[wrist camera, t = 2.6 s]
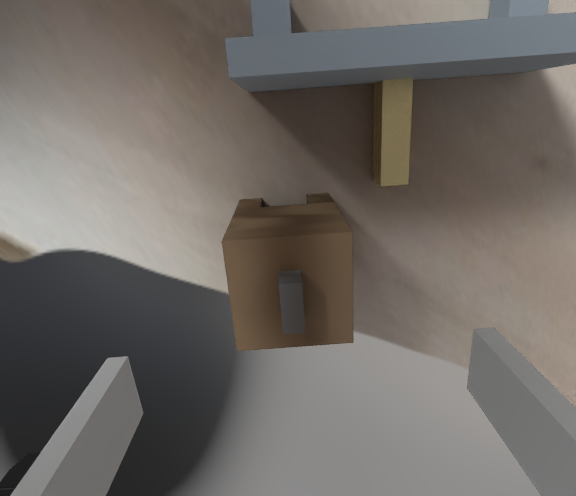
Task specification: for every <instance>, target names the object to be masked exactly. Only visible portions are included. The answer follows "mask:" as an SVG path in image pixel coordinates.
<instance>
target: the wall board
mask: <svg viewBox="0 0 576 496" xmlns="http://www.w3.org/2000/svg"><path fill="white" fill-rule="evenodd" d="M548 2H549V0H490V7H489V17H488V19H480V20H466V21H452V22H439V23H425V24H411V25H398V26H384V27H371V28H357V29H343V30H330V31H316V32H303V33H291V16H290V0H250V5H251V17H252V28H253V36H248V37H235V38H225V46H226V55H227V64H228V73H229V78H230V79H231V80H233V81H234V82H236V83H237V84H238V85H240V86H241V87H242V88H244V89H245V90H246V91H248V92H260V91H273V90H287V89H301V88H314V87H328V86H342V85H355V84H369V83H376V82H379V81H382V80H392V79H405V78H413V80H423V79H437V78H450V77H464V76H478V75H491V74H505V73H519V72H529V71H535V70H541V69H547V68H552V67H558V66H564V65H570V64H576V12H575V13H561V14H548V15H547V8H548Z"/></svg>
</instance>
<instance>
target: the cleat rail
mask: <svg viewBox="0 0 576 496" xmlns="http://www.w3.org/2000/svg"><path fill="white" fill-rule="evenodd" d="M412 95H413V78H405V79H392V80H382V81H379V82H376V83H374V105H373V181H374V182H375V183H377V184H378V185H379V186H393V185H407V184H408V180H409V159H410V137H411V116H412Z"/></svg>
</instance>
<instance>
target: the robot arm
mask: <svg viewBox="0 0 576 496" xmlns="http://www.w3.org/2000/svg"><path fill="white" fill-rule="evenodd" d="M467 388H468V390H469V392H470V393H471V394H472V396H473V397H474V399H475V400H476V402H477V403H478V405H479V406H480V407H481V409H482V410H483V412H484V413H485V415H486V416H487V418H488V419H489V421H490V422H491V423H492V425H493V426H494V428H495V429H496V431H497V432H498V434H499V435H500V437H501V438H502V439H503V441H504V442H505V444H506V445H507V447H508V448H509V450H510V451H511V452H512V454H513V455H514V457H515V458H516V460H517V461H518V462H519V464H520V466H521V467H522V468H523V470H524V471H525V473H526V474H527V476H528V477H529V479H530V480H531V481H532V483H533V484H534V486H535V487H536V489H537V490H538V491H539V493H540V494H541V496H576V408H575V407H574V406H573V405H572V404H571V403H570V402H569V401H568V400H567V399H566V398H565V397H564V396H563V395H562V394H561V393H560V392H559V391H558V390H557V389H556V388H555V387H554V386H553V385H552V384H551V383H550V382H549V381H548V380H547V379H546V378H545V377H544V376H543V375H542V374H541V373H540V372H539V371H538V370H537V369H536V368H535V367H533V366H532V365H531V364H530V363H529V362H528V361H527V360H526V359H525V358H524V357H523V356H522V355H521V354H520V353H519V352H518V351H517V350H516V349H515V348H514V347H513V346H512V345H511V344H510V343H509V342H508V341H507V340H506V339H505V338H504V337H503V336H502V335H501V334H500V333H499V332H498V331H497V330H496V329H495V328H485V329H474V333H473V341H472V350H471V358H470V367H469V376H468V385H467ZM142 415H143V410H142V407H141V403H140V399H139V396H138V392H137V389H136V385H135V381H134V378H133V374H132V370H131V367H130V363H129V359H128V357H115V358H107V360H106V361H105V363H104V364H103V365H102V367H101V368H100V370H99V371H98V373H97V374H96V375H95V377H94V378H93V380H92V381H91V383H90V384H89V385H88V387H87V388H86V389H85V391H84V392H83V394H82V395H81V397H80V398H79V399H78V401H77V402H76V404H75V405H74V406H73V408H72V409H71V411H70V412H69V413H68V415H67V416H66V418H65V419H64V420H63V422H62V423H61V425H60V426H59V428H58V429H57V430H56V432H55V433H54V435H53V436H52V437H51V439H50V440H49V442H48V443H47V445H46V446H45V447H44V449H43V450H42V452H38V453H28V454H27V455H26V456H25V457H24V458H23V459H21V460H20V461H19V462H18V463H17V464H16V465H14V466H13V467H12V468H11V469H10V470H9V471H8V473H7V474H6V475H5V476H4V478H3V479H2V481H1V482H0V496H106V494H107V492H108V489H109V487H110V484H111V483H112V481H113V478H114V476H115V474H116V472H117V470H118V467H119V465H120V463H121V461H122V459H123V457H124V454H125V452H126V450H127V448H128V446H129V443H130V441H131V439H132V437H133V435H134V432H135V430H136V428H137V426H138V424H139V421H140V419H141V417H142Z"/></svg>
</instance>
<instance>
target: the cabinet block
mask: <svg viewBox="0 0 576 496" xmlns="http://www.w3.org/2000/svg"><path fill="white" fill-rule="evenodd" d="M222 247H223V254H224V261H225V268H226V275H227V282H228V290H229V296H230V304H231V311H232V318H233V325H234V332H235V339H236V346H237V351H245V350H259V349H272V348H286V347H298V346H313V345H327V344H340V343H353V232H352V230H351V228H350V227H349V225H348V224H347V222H346V221H345V219H344V217H343V216H342V214H341V213H340V211H339V209H338V208H337V206H336V205H335V203H334V202H333V200H332V198H331V197H330V195H329V194H328V193H326V194H312V195H307V204H299V205H285V206H272V207H262V198H258V199H244V200H240V201H239V204H238V206H237V208H236V210H235V213H234V215H233V217H232V219H231V222H230V224H229V226H228V228H227V231H226V233H225V235H224V237H223V240H222Z"/></svg>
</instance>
